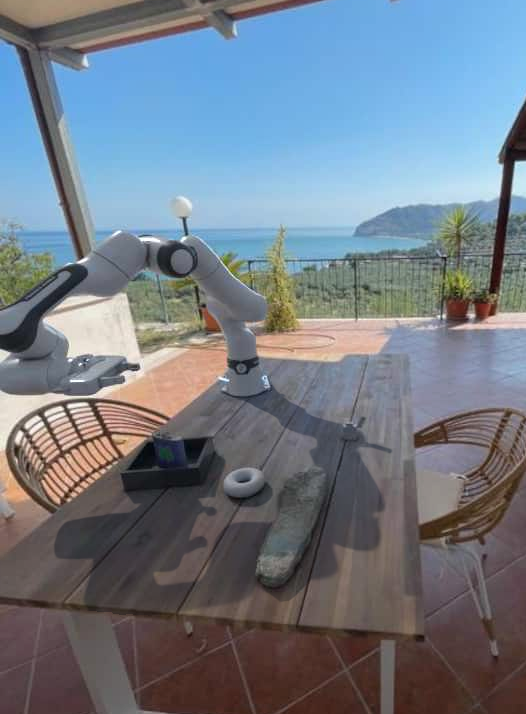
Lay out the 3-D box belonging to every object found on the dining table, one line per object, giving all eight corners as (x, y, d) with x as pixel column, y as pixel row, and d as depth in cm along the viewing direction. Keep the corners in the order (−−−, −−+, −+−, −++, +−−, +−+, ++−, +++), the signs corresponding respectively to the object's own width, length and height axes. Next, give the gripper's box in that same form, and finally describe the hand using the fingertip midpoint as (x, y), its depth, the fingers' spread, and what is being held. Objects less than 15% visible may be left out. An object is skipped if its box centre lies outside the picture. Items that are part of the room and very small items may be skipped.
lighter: (343, 439, 118) (342, 415, 115) (343, 436, 120) (343, 413, 117) (366, 439, 118) (366, 416, 115) (366, 437, 120) (366, 413, 117)
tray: (148, 456, 109) (144, 440, 108) (214, 451, 112) (212, 436, 110) (124, 490, 95) (120, 473, 93) (201, 484, 97) (198, 467, 95)
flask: (190, 466, 103) (183, 430, 99) (182, 472, 100) (175, 435, 96) (162, 460, 105) (155, 425, 102) (154, 466, 103) (145, 430, 99)
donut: (216, 498, 92) (255, 503, 90) (213, 486, 91) (253, 490, 89) (236, 474, 101) (272, 478, 99) (234, 463, 100) (271, 466, 98)
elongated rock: (242, 591, 69) (296, 599, 69) (240, 570, 67) (296, 578, 66) (296, 471, 101) (334, 476, 100) (296, 454, 99) (334, 459, 98)
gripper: (42, 378, 85) (110, 375, 87) (89, 351, 104) (144, 349, 106) (50, 404, 87) (116, 401, 89) (95, 374, 106) (148, 371, 108)
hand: (131, 373), depth 98 cm, fingers open, 8 cm apart
